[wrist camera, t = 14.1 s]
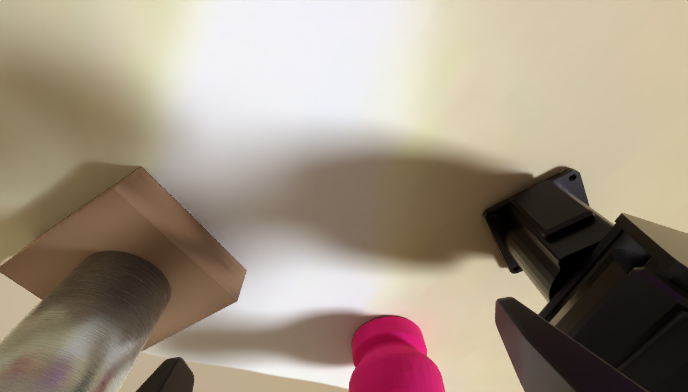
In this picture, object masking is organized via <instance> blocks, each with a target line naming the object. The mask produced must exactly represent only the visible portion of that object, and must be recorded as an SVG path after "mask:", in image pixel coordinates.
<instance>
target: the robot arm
mask: <svg viewBox="0 0 688 392" xmlns="http://www.w3.org/2000/svg"><path fill="white" fill-rule="evenodd" d="M571 175H572V177H571V178H569V177H570V176H571ZM491 214H493V216H492V217H489V216H490V215H491ZM483 218H484V220H485V222H486V224H487V226H488V228H489V230H490V232H491V234H492V237H493V239H494V241H495V243H496V245H497V247H498V249H499V251H500V253H501V255H502V257H503V260H504V262H505V264H506V266H507V268H508V269H509V271H510V272H511V273H513V274H516V273H519V272H521V271H524V272H525V273H526V275H527V276H528V277H529V279H530V280H531V281H532V282H533V284H534V285H535V286H536V288H537V289H538V290H539V291H540V293H541V294H542V295H543V296H544V298H545V299H546V300H547V302H548V304H547V305H546V306H545V307H544V308H543V310H542V311H541V312H540V313H539V314H536V313H535V312H533V311H532V310H530V309H529V308H527V307H526V306H525V305H523V304H522V303H520V302H519V301H517V300H516V299H515V298H512V297H506V298H500V299H497V300H496V306H495V322H496V326H497V329H498V331H499V333H500V336H501V338H502V341H503V343H504V345H505V348H506V350H507V352H508V355H509V357H510V359H511V362H512V364H513V367H514V369H515V371H516V374H517V376H518V378H519V380H520V383H521V385H522V387H523V389H524V391H525V392H688V234H687V233H684V232H681V231H678V230H675V229H671V228H668V227H665V226H662V225H659V224H656V223H653V222H650V221H646V220H643V219H640V218H637V217H634V216H631V215H628V214H625V213H621V214H620V216H619V217H618V218H617V219H616V220H615V222H616V224H615V225H614V224H613V223H611V222H610V221H608V220H607V219H606V218H604V217H603V216H601V215H600V214H599V213H597V212H596V211H594V210H593V209H592V208H590V207H589V204H588V200H587V196H586V193H585V189H584V185H583V182H582V178H581V175H580V173H579V172H578V171H576V170H575V169H572V168H570V169H567V170H565V171H563V172H561V173H559V174H557V175H555V176H553V177H551V178H549V179H547V180H545V181H543V182H541V183H539V184H537V185H535V186H533V187H531V188H529V189H527V190H525V191H523V192H521V193H519V194H517V195H515V196H513V197H511V198H509V199H507V200H505V201H503V202H501V203H499V204H497V205H495V206H493V207H491V208H489V209H487V210H485V212H484V213H483ZM515 266H516V267H515ZM193 385H194V375H193V373H192V371H191V370H190V368H189V367H188V365H187V364H186V363H185V361H184V360H183V359H182V358H181V357H176V358H171V359H167V360H165V361H164V362H163V363H162V364H161V365H160V366H159V367H158V368H157V369H156V370H155V371H154V373H153V374H152V375H151V376H150V377H149V378H148V379H147V380H146V381H145V382H144V383H143V384H142V385H141V387H140V388H139V389H138V390H137V391H136V392H192V391H193Z"/></svg>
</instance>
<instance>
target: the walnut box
mask: <svg viewBox="0 0 688 392" xmlns="http://www.w3.org/2000/svg"><path fill="white" fill-rule="evenodd" d="M103 251H121V252H126V253H130V254H134V255H136V256H139V257H141V258H143V259H145V260H147V261H149V262H150V263H152V264H153V265H155V266H156V267H157V268H158V269H159V270H160V271H161V272H162V273H163V274H164V275H165V277H166V278H167V280H168V282H169V285H170V288H171V297H170V301H169V303H168V305H167V306H166V308H165V310H164V312H163V313H162V315H161V317H160V319H159V321H158V322H157V324H156V326H155V328H154V329H153V331H152V333H151V335H150V337H149V338H148V340H147V342H146V344H145V345H144V347H143V349H142V351H143V350H145V349H147V348H149V347H151V346H152V345H154V344H156V343H158V342H160V341H162V340H164V339H166V338H168V337H170V336H172V335H173V334H175V333H177V332H179V331H181V330H183V329H185V328H187V327H189V326H191V325H192V324H194V323H196V322H198V321H200V320H202V319H204V318H206V317H208V316H210V315H212V314H213V313H215V312H217V311H219V310H221V309H223V308H225V307H227V306H229V305H231V304H233V303H234V302H236V301H237V300H238V297H239V294H240V291H241V287H242V284H243V281H244V278H245V274H246V271H247V270H246V269H245V268H244V267H243V266H242V265H241V264H240V263H239V262H238V261H237V260H236V259H235V258H234V257H232V256H231V255H230V254H229V253H228V252H227V251H226V250H225V249H224V248H223V247H222V246H221V245H220V244H219V243H218V242H217V241H216V240H215V239H214V238H213V237H212V236H211V235H210V234H209V233H208V232H207V231H206V230H205V229H204V228H203V227H202V226H201V225H200V224H199V223H198V222H197V221H196V220H195V219H194V218H193V217H192V216H191V215H190V214H189V213H188V212H187V211H186V210H185V209H184V208H183V207H182V206H181V205H180V204H179V203H178V202H177V201H176V200H175V199H174V198H173V197H172V196H171V195H170V194H169V193H168V192H167V191H166V190H165V189H164V188H163V187H162V186H161V185H160V184H158V183H157V182H156V181H155V180H154V179H153V178H152V177H151V176H150V175H149V174H148V173H147V172H146V171H145V170H144V169H143V168H142V167H140V168H138V169H137V170H135V171H134V172H132V173H131V174H130V175H128V176H127V177H125V178H124V179H122V180H121V181H119V182H118V183H116V184H115V185H114V186H112V187H111V188H109V189H108V190H106V191H105V192H103V193H102V194H101V195H99V196H98V197H96V198H95V199H93V200H92V201H90V202H89V203H87V204H86V205H85V206H83V207H82V208H80V209H79V210H77V211H76V212H74V213H73V214H72V215H70V216H69V217H67V218H66V219H64V220H63V221H61V222H60V223H58V224H57V225H56V226H54V227H53V228H51V229H50V230H48V231H47V232H45V233H44V234H43V235H41V236H40V237H38V238H37V239H35V240H34V241H33V242H31V243H30V244H29V245H27V246H26V247H25V248H24V249H22V250H21V251H20V252H18V253H17V254H16V255H14V256H13V257H12V258H11V259H9V260H8V261H7V262H5V263H4V264H3V265H1V266H0V272H1V273H2V274H4V275H6V276H7V277H8V278H10V279H12V280H13V281H14V282H16V283H17V284H19V285H20V286H22V287H24V288H25V289H27V290H28V291H30V292H31V293H33V294H34V295H36V296H37V297H39V298H40V299H42V300H43V299H44V298H45V297H46V296H47V295H48V294H49V293H50V292H51V291H52V290H53V289H54V288H55V287H56V286H57V285H58V284H59V283H60V282H61V281H62V280H63V279H64V278H65V277H66V276H67V275H68V274H69V273H70V272H71V271H72V270H73V269H74V268H75V267H76V266H77V265H78V264H79V263H80V262H81V261H82V260H84V259H85V258H86V257H88V256H90V255H92V254H95V253H98V252H103Z"/></svg>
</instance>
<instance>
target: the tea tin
mask: <svg viewBox="0 0 688 392" xmlns="http://www.w3.org/2000/svg"><path fill="white" fill-rule="evenodd" d="M170 297H171V288H170V285H169V282H168V280H167V278H166V277H165V275H164V274H163V273H162V272H161V271H160V270H159V269H158V268H157V267H156V266H155V265H153V264H152V263H150V262H149V261H147V260H145V259H143V258H141V257H139V256H136V255H134V254H130V253H126V252H121V251H103V252H98V253H95V254H92V255H90V256H88V257H86V258H85V259H84V260H82V261H81V262H80V263H79V264H78V265H77V266H76V267H75V268H74V269H73V270H72V271H71V272H70V273H69V274H68V275H67V276H66V277H65V278H64V279H63V280H62V281H61V282H60V283H59V284H58V285H57V286H56V287H55V288H54V289H53V290H52V291H51V292H50V293H49V294H48V295H47V296H46V297H45V298H44V299H43V300H42V301H41V302H40V303H39V304H38V305H37V306H36V307H34V308H33V309H32V310H31V311H30V312H29V313H28V314H27V315H26V316H25V317H24V318H23V319H22V320H21V321H20V322H19V323H18V324H17V325H16V326H15V327H14V328H13V329H12V330H11V331H10V332H9V333H8V334H7V335H6V336H5V337H4V338H3V339H2V340H1V341H0V392H119V390H120V388H121V386H122V385H123V383H124V381H125V379H126V377H127V376H128V374H129V372H130V370H131V369H132V367H133V365H134V363H135V361H136V360H137V358H138V356H139V354H140V353H141V351H142V349H143V347H144V345H145V344H146V342H147V340H148V338H149V337H150V335H151V333H152V331H153V329H154V328H155V326H156V324H157V322H158V321H159V319H160V317H161V315H162V313H163V312H164V310H165V308H166V306H167V305H168V303H169V301H170Z"/></svg>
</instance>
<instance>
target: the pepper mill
mask: <svg viewBox="0 0 688 392" xmlns="http://www.w3.org/2000/svg"><path fill="white" fill-rule="evenodd" d="M352 355H353V363H354V365H355V367H356V368H355V370H354V371H353V373H352V376H351V379H350V382H349V392H445V389H444V384H443V379H442V376H441V373H440V371H439V369H438V367H437V366H436V365H435V363H434V362H433V361H432V360H431V359H430V358H428V357H427V348H426V345H425V342H424V339H423V335H422V332H421V330H420V329H419V327H418V326H417V325H416V324H415V323H413V322H411V321H410V320H408V319H405V318H401V317H394V316H388V317H381V318H377V319H373V320H371V321H369V322H367V323H365V324H364V325H362V326H361V327H360V328H359V329H358V330H357V331H356V333H355V334H354V336H353V339H352Z"/></svg>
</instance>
